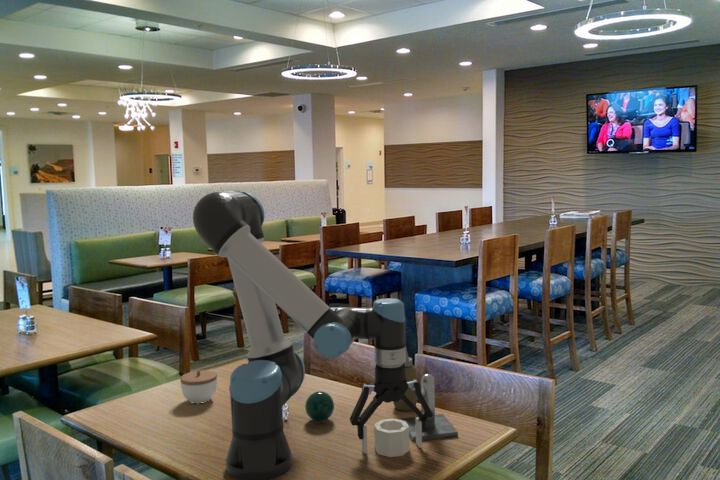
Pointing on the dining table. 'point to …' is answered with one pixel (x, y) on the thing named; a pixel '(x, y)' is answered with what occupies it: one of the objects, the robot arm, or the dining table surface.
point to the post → (435, 424)
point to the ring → (391, 437)
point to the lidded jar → (199, 385)
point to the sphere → (319, 406)
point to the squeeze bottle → (409, 393)
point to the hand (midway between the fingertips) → (392, 448)
